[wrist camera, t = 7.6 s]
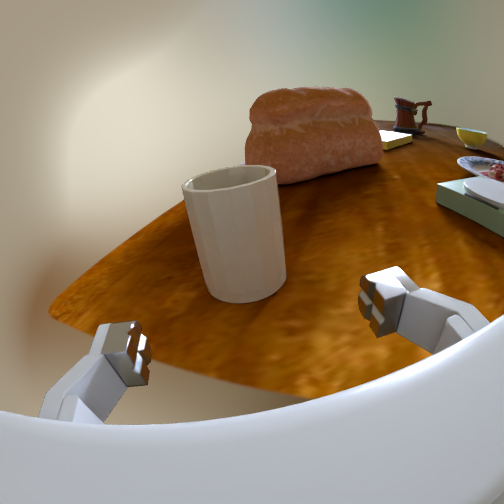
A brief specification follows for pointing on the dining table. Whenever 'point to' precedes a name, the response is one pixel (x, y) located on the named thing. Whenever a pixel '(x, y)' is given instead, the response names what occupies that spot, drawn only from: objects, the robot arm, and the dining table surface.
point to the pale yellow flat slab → (394, 139)
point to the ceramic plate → (483, 167)
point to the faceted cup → (238, 231)
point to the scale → (475, 200)
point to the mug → (409, 116)
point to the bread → (312, 132)
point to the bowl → (471, 137)
